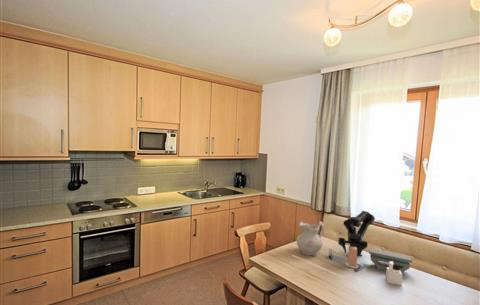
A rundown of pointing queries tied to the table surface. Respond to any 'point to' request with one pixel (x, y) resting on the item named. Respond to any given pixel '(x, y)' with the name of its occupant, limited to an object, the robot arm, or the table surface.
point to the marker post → (352, 256)
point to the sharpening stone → (389, 259)
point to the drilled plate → (344, 262)
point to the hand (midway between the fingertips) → (352, 254)
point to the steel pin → (330, 252)
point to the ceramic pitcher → (310, 238)
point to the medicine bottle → (394, 273)
